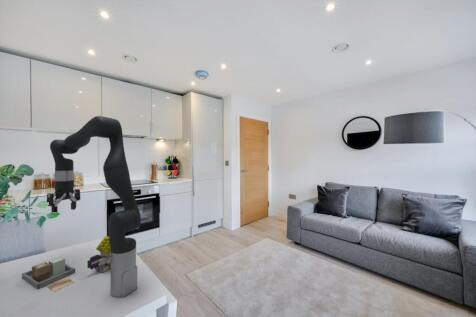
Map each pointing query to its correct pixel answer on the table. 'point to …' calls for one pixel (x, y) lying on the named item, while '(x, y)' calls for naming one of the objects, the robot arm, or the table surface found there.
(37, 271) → the walnut block
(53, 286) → the cork pad
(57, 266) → the sage block
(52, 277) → the tray
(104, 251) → the toy
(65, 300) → the table surface
